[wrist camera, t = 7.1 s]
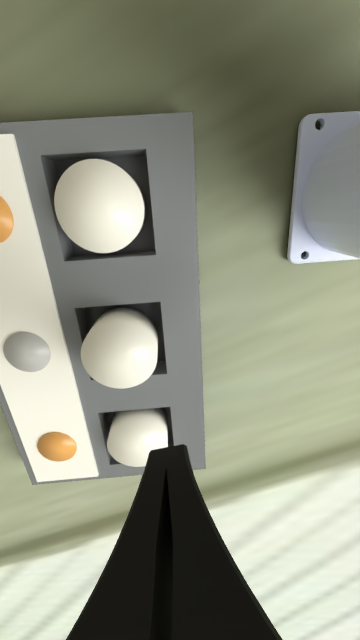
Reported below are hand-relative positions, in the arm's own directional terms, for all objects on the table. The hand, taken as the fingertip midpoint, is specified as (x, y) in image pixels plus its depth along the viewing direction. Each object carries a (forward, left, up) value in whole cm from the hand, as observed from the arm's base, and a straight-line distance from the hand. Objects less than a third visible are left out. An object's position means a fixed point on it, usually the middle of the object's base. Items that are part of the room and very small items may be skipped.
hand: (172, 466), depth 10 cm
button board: (+5, -1, -10) cm, 11 cm away
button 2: (+3, -1, -9) cm, 9 cm away
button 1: (+3, -9, -10) cm, 14 cm away
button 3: (+3, +7, -10) cm, 12 cm away
